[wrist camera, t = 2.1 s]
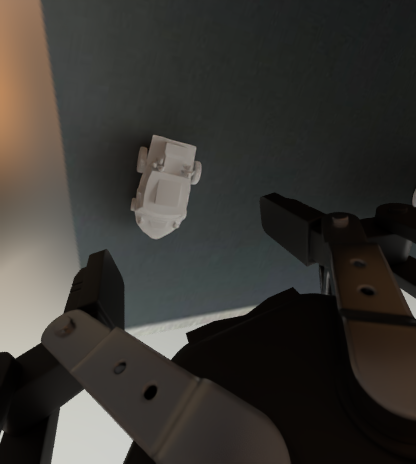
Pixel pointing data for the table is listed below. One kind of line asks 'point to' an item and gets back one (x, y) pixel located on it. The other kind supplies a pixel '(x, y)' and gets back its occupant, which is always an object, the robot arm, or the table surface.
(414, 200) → the cup
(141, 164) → the toy car
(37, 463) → the robot arm
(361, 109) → the table surface
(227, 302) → the table surface
